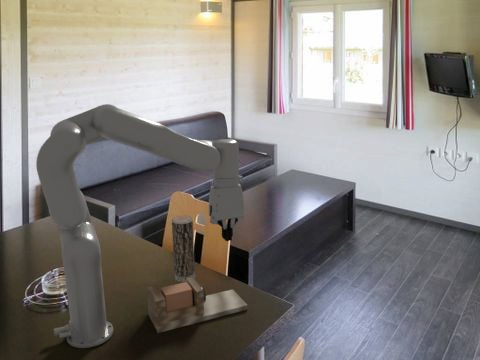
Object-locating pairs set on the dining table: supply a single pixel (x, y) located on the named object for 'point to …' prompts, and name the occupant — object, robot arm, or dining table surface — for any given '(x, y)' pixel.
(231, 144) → the robot arm
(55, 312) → the dining table surface
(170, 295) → the rectangular block
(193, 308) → the stand
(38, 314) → the dining table surface
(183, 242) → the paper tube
